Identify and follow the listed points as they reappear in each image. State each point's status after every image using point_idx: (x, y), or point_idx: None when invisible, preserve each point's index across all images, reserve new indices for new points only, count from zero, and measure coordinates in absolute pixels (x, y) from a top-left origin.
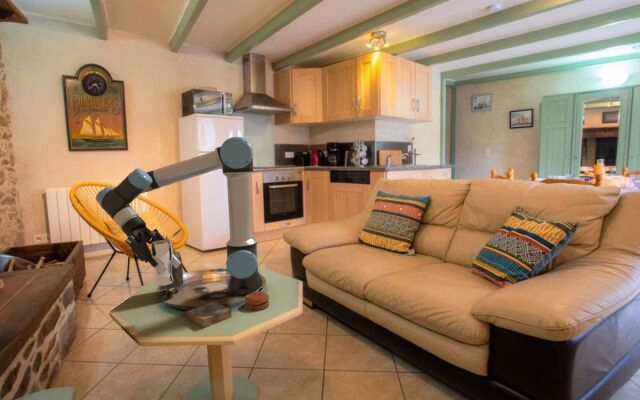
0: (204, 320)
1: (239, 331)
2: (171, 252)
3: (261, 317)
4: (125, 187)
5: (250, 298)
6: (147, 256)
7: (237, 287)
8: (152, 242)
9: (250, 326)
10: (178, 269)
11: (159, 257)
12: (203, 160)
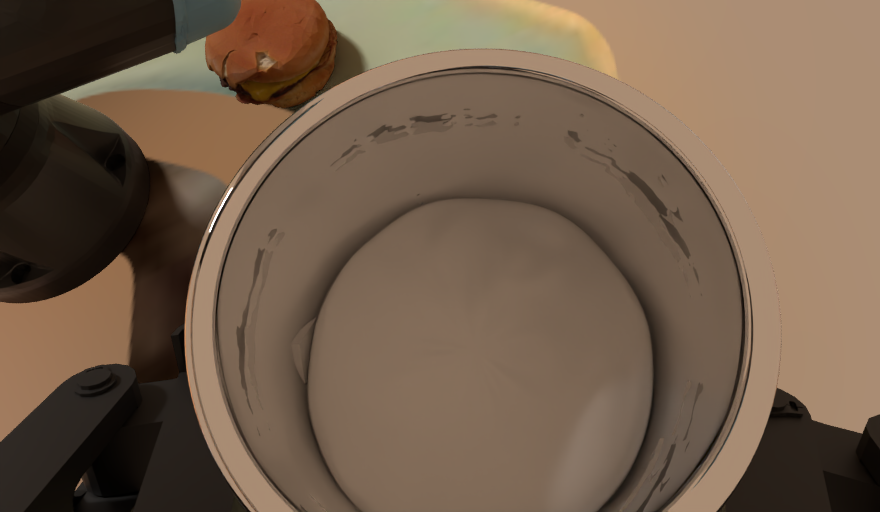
0: None
1: (541, 24)
2: (438, 182)
3: (403, 2)
4: None
5: (304, 34)
6: (825, 445)
7: (115, 182)
8: None
9: (490, 6)
10: None
11: (640, 287)
12: None
